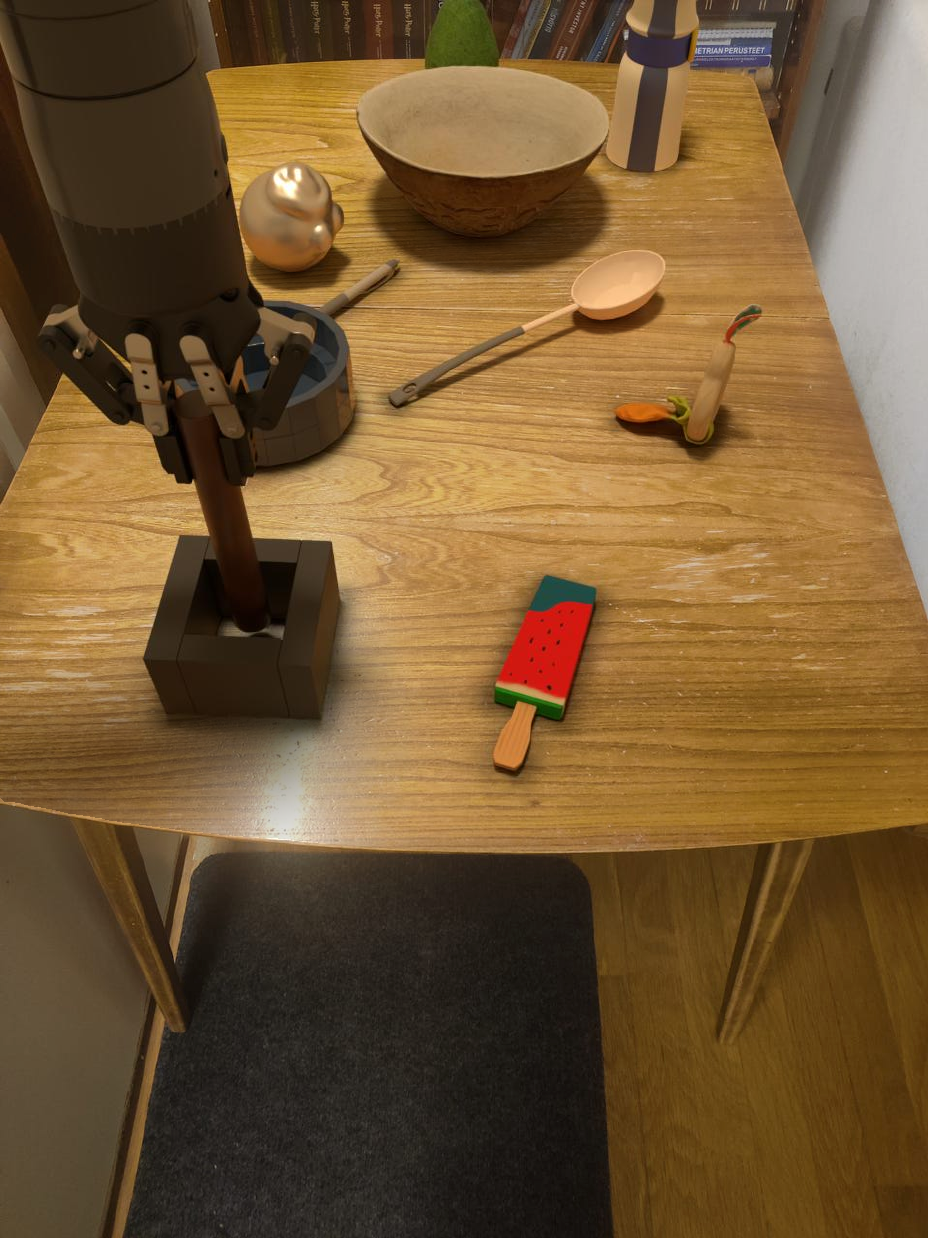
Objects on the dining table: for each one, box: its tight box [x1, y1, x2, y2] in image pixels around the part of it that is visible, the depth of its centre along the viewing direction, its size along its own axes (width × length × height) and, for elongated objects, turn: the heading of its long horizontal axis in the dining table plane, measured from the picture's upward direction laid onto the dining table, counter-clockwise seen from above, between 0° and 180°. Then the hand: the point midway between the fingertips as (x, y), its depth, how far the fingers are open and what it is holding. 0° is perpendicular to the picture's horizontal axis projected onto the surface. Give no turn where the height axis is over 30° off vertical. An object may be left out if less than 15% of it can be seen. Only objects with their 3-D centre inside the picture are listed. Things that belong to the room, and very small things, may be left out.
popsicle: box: [492, 574, 597, 771], centre depth 65 cm, size 5×2×15 cm
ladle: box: [387, 249, 667, 407], centre depth 87 cm, size 6×28×5 cm, turn 124°
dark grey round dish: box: [177, 299, 356, 467], centre depth 79 cm, size 14×14×6 cm
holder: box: [142, 534, 341, 721], centre depth 65 cm, size 10×10×6 cm
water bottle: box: [605, 0, 700, 173], centre depth 98 cm, size 8×9×25 cm
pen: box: [317, 258, 401, 317], centre depth 90 cm, size 1×14×1 cm, turn 143°
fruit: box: [424, 0, 500, 70], centre depth 109 cm, size 8×8×12 cm
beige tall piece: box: [614, 303, 763, 445], centre depth 77 cm, size 8×8×12 cm
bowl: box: [355, 66, 610, 238], centre depth 97 cm, size 24×24×10 cm
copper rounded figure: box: [238, 161, 345, 273], centre depth 91 cm, size 9×10×10 cm
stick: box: [173, 389, 272, 634], centre depth 58 cm, size 2×2×18 cm
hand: (215, 473), depth 55 cm, fingers closed on stick, 2 cm apart
